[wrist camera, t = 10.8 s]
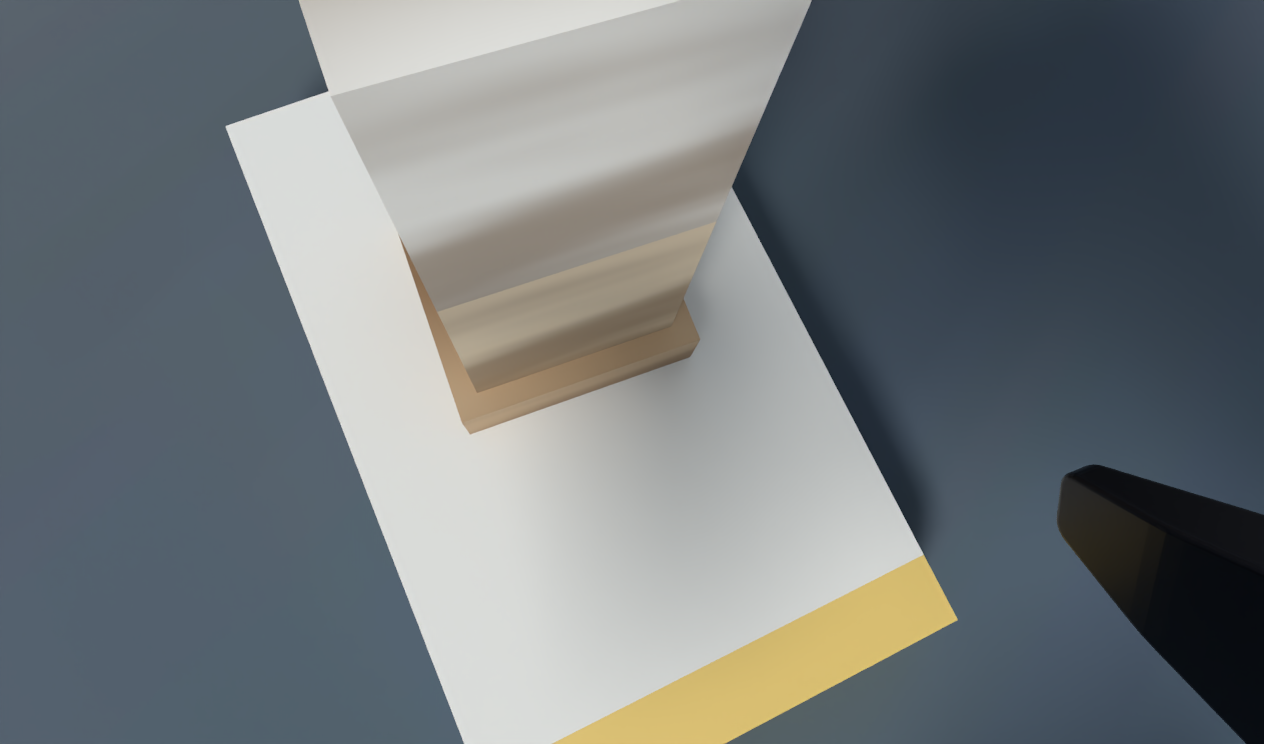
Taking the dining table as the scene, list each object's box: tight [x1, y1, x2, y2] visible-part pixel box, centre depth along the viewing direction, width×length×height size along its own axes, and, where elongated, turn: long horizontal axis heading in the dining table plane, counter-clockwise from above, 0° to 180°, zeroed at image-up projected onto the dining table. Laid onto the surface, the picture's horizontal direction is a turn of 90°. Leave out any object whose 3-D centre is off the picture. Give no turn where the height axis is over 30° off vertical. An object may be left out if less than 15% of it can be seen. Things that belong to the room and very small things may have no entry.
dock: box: [225, 91, 958, 744], centre depth 20 cm, size 18×11×3 cm, turn 25°
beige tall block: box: [299, 0, 812, 434], centre depth 13 cm, size 6×6×12 cm
